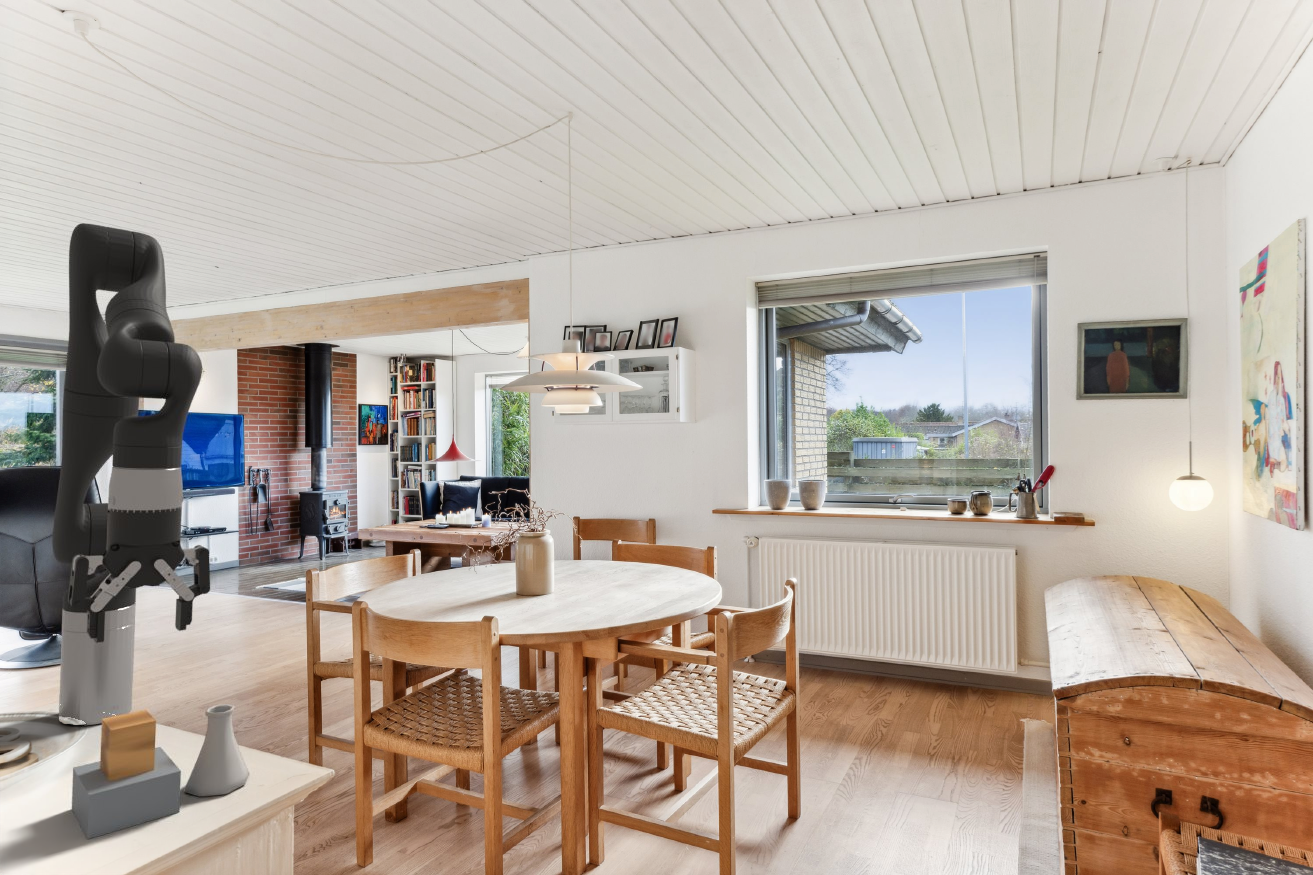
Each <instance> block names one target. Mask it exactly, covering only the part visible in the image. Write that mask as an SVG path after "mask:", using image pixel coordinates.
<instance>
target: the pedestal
mask: <svg viewBox="0 0 1313 875" xmlns="http://www.w3.org/2000/svg"><path fill="white" fill-rule="evenodd" d="M181 776H182V770H181V769H180V768H179V767H178V766H177V764H176V763H175V762H174V761H173V759H172V758H170V756H169V755H168V754H167V753H166V752H165V751H164V749H163V748H162V747H161V746H158V747H155V762H154V770H152V771H148V772H144V773H140V774H137V775H133V776H129V777H125V778H121V779H117V780H113V781H108V779H107V778H106V776H105V775H104V773H103V772H102V770H101V769H100V760H99V761H95V762H91V763H87V764H83V765H78V766H75V767H72V787H71V788H72V793H71V795H72V796H71V810H72V812H73V814H74V816H75V818H76V820H77V821H78V823H79V826H80V828H81V829H82V831H83V834H84V835H85V838H86V840H90V839H94V838H96V837H97V838H98V837H99V836H103V835H107V834H110V833H114V832H117V831H119V830H122V829H126V828H130V827H133V826H137V825H140V824H141V825H142V824H143V823H147V822H150V821H154V820H157V819H160V818H164V817H167V816H171V815H174V814H177V813H180V808H181V807H180V805H181V804H180V802H181V783H182V782H181Z"/></svg>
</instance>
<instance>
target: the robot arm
mask: <svg viewBox="0 0 1313 875" xmlns="http://www.w3.org/2000/svg"><path fill="white" fill-rule="evenodd" d="M68 249H69V250H68V295H69V296H68V298H69V299H68V301H69V302H68V303H69V304H68V310H69V315H68V316H69V324H68V325H69V326H68V327H69V328H68V341H67V342H68V343H67V345H68V346H67V355H66V356H67V357H66V364H65V365H66V366H65V374H64V383H63V395H62V397H63V400H62V425H61V426H62V427H61V428H62V429H61V431H62V432H61V433H62V434H61V436H62V437H61V440H62V441H61V464H60V475H59V480H58V488H57V497H56V503H55V504H56V505H55V509H54V510H55V511H54V518H53V519H54V520H53V528H52V540H51V542H52V552H53V555H54V558H55V560H56V561H57V562H58V563H59V564H62V565H71V569H70V579H69V587H68V589H66V590H65V591H64V593H63V596H62V609H61V610H62V612H61V613H62V614H61V615H62V618H61V641H60V642H61V644H60V645H61V647H60V648H61V650H60V674H59V677H60V678H59V699H58V717H59V716H62V717H71V718H75V719H78V720H82V721H84V722H85V723H86V724H87V725H86V726H90V725H98V724H102V719H104V718H109V717H113V716H115V715H116V716H118V715H123V714H128V713H131V711H132V710H133V709H132V708H133V687H134V686H133V684H134V662H135V661H134V659H135V634H136V607H137V606H136V602H137V589H139V588H142V587H159V586H161V584H164V583H166V584H167V585H168V586H169V587H170V588H171V589H172V590H173V591H174V592H175V594H176V595H178V598H176V600H175V623H174V624H175V625H174V626H175V629H176V630H177V631H179V632H180V631H186V630H187V626H189V625H191V623H192V622H193V603H194V599H195V598H197V597H199V596H202V595H206V594H208V593H209V592H210V591H211V570H210V549H208V548H206V547H204V546H202V545H200V544H198V545H195V546H194V547H192V548H191V547H190V548H184V549H183V547H182V545H181V537H182V535H181V534H182V515H183V514H182V513H183V512H182V511H183V502H184V494H183V491H184V490H183V489H184V488H183V476H182V459H183V458H182V457H183V456H182V455H183V453H182V452H183V447H182V446H183V437H184V436H183V435H184V429H185V427H186V426H185V425H186V420H187V418H188V415H189V411H190V408H191V405H192V403H193V400H194V398H195V395H196V393H197V391H198V388H199V385H200V381H201V378H202V375H203V365H202V360H201V357H200V355H199V354H198V352H197V351H196V350H195V349H194V348H193V347H192V346H190V345H188V344H185V343H179V342H176V341H175V340H176V339H175V338H176V336H175V333H174V329H173V327H172V323H171V321H170V320H171V319H170V318H169V314H168V311H167V288H166V286H167V285H166V268H165V260H164V259H165V258H164V253H163V250H162V247H161V244H160V242H159V241H157V239H156V238H155V237H154V236H151V235H149V234H146V233H142V232H138V231H131V230H127V229H121V228H118V227H117V228H116V227H110V226H105V225H99V224H95V223H93V224H92V223H84V222H83V223H81V222H80V223H79V224H76V226H75V227H74V229H73V231H72V233H71V236H70V241H69V248H68ZM97 291H106V292H114V293H116V294H115V295H113V297H111V298H110V300H109V302H108V303H107V305H106V307H105V313H104V318H103V316H102V314H101V311H100V308H99V304H98V300H97ZM140 398H141V399H159V400H162V399H163V400H165V401H164V404H163V406H162V407H161V408H160V409H159V410H158V411H156V412H155V413H153V414H148V415H142V416H139V409H140V408H139V407H140ZM110 458H112V467H111V473H110V478H109V483H108V497H107V498H108V499H107V502H104V503H103V502H101V503H99V502H98V503H85V499H86V496H87V493H88V491H89V489H90V486H91V484H92V483H93V481H94V479H95V478H96V476H97V474H98V473H99V472H100V470H101V469H102V467H103V466H104V465H105V464H106V463H107V462H108V460H110ZM185 558H186V559H187V562H188V563H189V564H190V565H192V566H193V584H191V585H190V586H188V585H187V584H186V583H185V582H184V581H183V580H182V578H181V577H180V576H179V575H178V574H177V573H176V572H175V571H176V569H177V568H178V567H179V565H180V564H181V563H182V562H183V561H184V559H185ZM100 565H102V567H103V568H104V569H105V570H104V571H103V572H102V573H100V574H98V575H97V576H94V577H93V578H91V579H88V575H89V576H90V575H92V574H94V573H95V572H96V569H97V567H98V566H100ZM60 704H61V705H60ZM103 712H105V713H103ZM109 713H110V714H109ZM112 714H115V715H112Z"/></svg>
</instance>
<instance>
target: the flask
mask: <svg viewBox="0 0 1313 875" xmlns="http://www.w3.org/2000/svg"><path fill="white" fill-rule="evenodd" d="M234 711H235V705H232V704H227V703H226V704H216V705H213V706H210V707H208V708H207V709H206V710H205V712H204V713H205V717H207V726H206V732H205V737H204V740H203V743H202V746H201V749H200V751H199V753H198V755H197V756H198V757H197V759H196V762H195V763H194V766H193V769H192V771H191V773H190V775H189V778H188V780H187V782H186V785H185V787H184V790H183V793H187V794H191V795H194V796H197V797H207V796H209V797H210V796H218V795H226V794H229V793H230V792H233V791H235V790H236V789H238V788H240V787H242V786H244V785H246V784H247V781H248V780H249V777H250V771H249V768H248V766H247V764H246V762H245V759H244V756H243V755H242V752H241V750H240V747H239V744H238V741H237V739H236V737H235V734H234V727H233V721H232V719H233V716H232V715H233V712H234Z"/></svg>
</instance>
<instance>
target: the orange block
mask: <svg viewBox="0 0 1313 875" xmlns="http://www.w3.org/2000/svg"><path fill="white" fill-rule="evenodd" d="M156 729H157V720H156V718H155V717H154V716H152V714H150V712H149V711H148V710H147V709H143V710H138V711H133V712H129V713H128V714H123V715H118V716H113V717H109V718H104V719H102V723H101V733H100V735H101V737H100V760H99V761H100V769H101V770H102V772H103V773H104V775H105V776H106V778H107V779H108V781H113V780H117V779H121V778H125V777H129V776H133V775H137V774H140V773H144V772H148V771H152V770H154V762H155V748H156V733H157V732H156V731H157V730H156Z"/></svg>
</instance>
